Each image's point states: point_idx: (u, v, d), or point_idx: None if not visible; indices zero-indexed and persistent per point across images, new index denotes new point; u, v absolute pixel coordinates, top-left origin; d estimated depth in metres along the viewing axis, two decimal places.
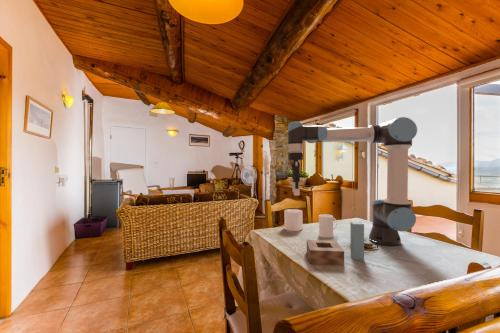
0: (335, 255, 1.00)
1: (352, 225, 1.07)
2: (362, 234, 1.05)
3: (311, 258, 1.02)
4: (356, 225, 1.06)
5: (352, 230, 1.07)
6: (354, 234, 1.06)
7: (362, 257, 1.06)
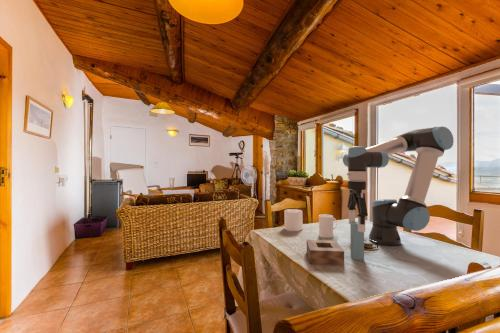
0: (335, 255, 1.00)
1: (352, 225, 1.07)
2: (362, 234, 1.05)
3: (311, 258, 1.02)
4: (356, 225, 1.06)
5: (352, 230, 1.07)
6: (354, 234, 1.06)
7: (362, 257, 1.06)
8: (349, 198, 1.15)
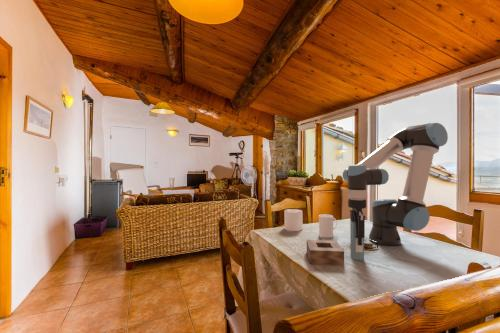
0: (335, 255, 1.00)
1: (352, 225, 1.07)
2: None
3: (311, 258, 1.02)
4: None
5: (352, 230, 1.07)
6: (354, 234, 1.06)
7: (362, 257, 1.06)
8: (351, 219, 1.13)
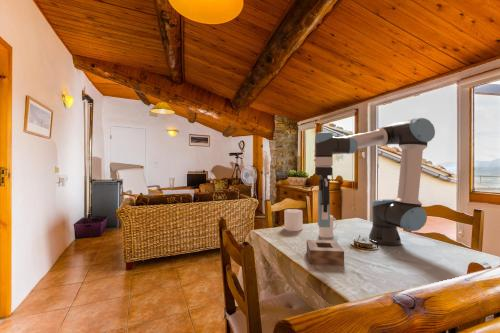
0: (335, 255, 1.00)
1: (318, 193, 1.07)
2: None
3: (311, 258, 1.02)
4: None
5: (318, 198, 1.07)
6: (320, 202, 1.05)
7: (328, 224, 1.05)
8: (319, 188, 1.12)
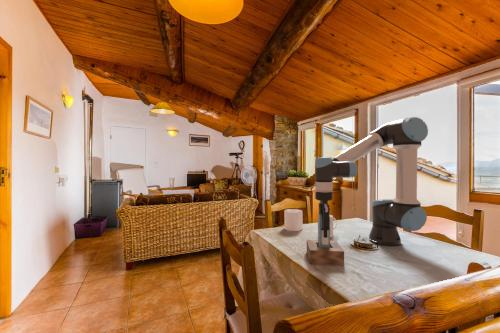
0: (335, 255, 1.00)
1: (319, 217, 1.07)
2: None
3: (311, 258, 1.02)
4: None
5: (319, 222, 1.07)
6: (320, 227, 1.06)
7: None
8: (319, 211, 1.13)
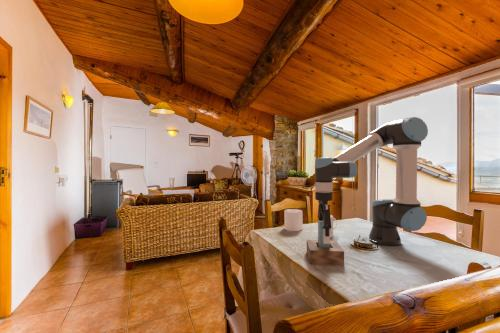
0: (335, 255, 1.00)
1: (319, 225, 1.07)
2: None
3: (311, 258, 1.02)
4: (322, 225, 1.06)
5: (319, 230, 1.07)
6: (320, 235, 1.06)
7: None
8: (318, 208, 1.14)
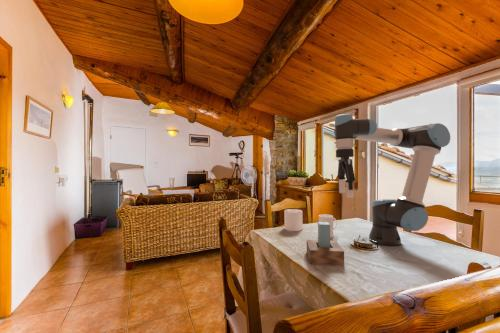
0: (335, 255, 1.00)
1: (319, 225, 1.07)
2: (328, 234, 1.05)
3: (311, 258, 1.02)
4: (322, 225, 1.06)
5: (319, 230, 1.07)
6: (320, 235, 1.06)
7: None
8: (338, 168, 1.15)
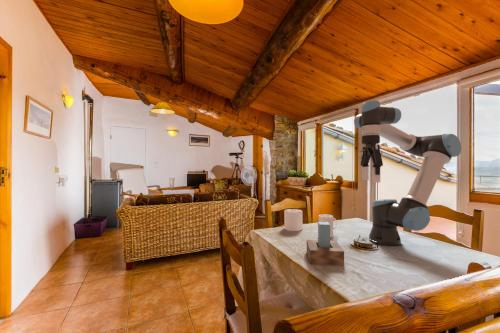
0: (335, 255, 1.00)
1: (319, 225, 1.07)
2: (328, 234, 1.05)
3: (311, 258, 1.02)
4: (322, 225, 1.06)
5: (319, 230, 1.07)
6: (320, 235, 1.06)
7: None
8: (362, 155, 1.16)
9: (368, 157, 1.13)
